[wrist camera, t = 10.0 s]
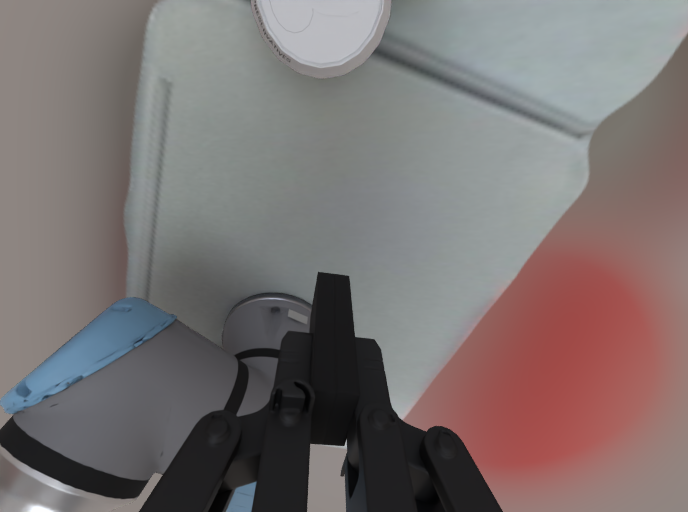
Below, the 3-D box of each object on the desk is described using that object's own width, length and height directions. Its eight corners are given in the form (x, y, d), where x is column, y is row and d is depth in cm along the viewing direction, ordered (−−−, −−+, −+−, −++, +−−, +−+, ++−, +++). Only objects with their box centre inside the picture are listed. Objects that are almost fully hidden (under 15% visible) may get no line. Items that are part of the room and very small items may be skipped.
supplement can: (283, 70, 33) (251, 76, 20) (279, -40, 28) (234, -123, 16) (365, 74, 33) (387, 83, 20) (373, -34, 29) (405, -110, 16)
